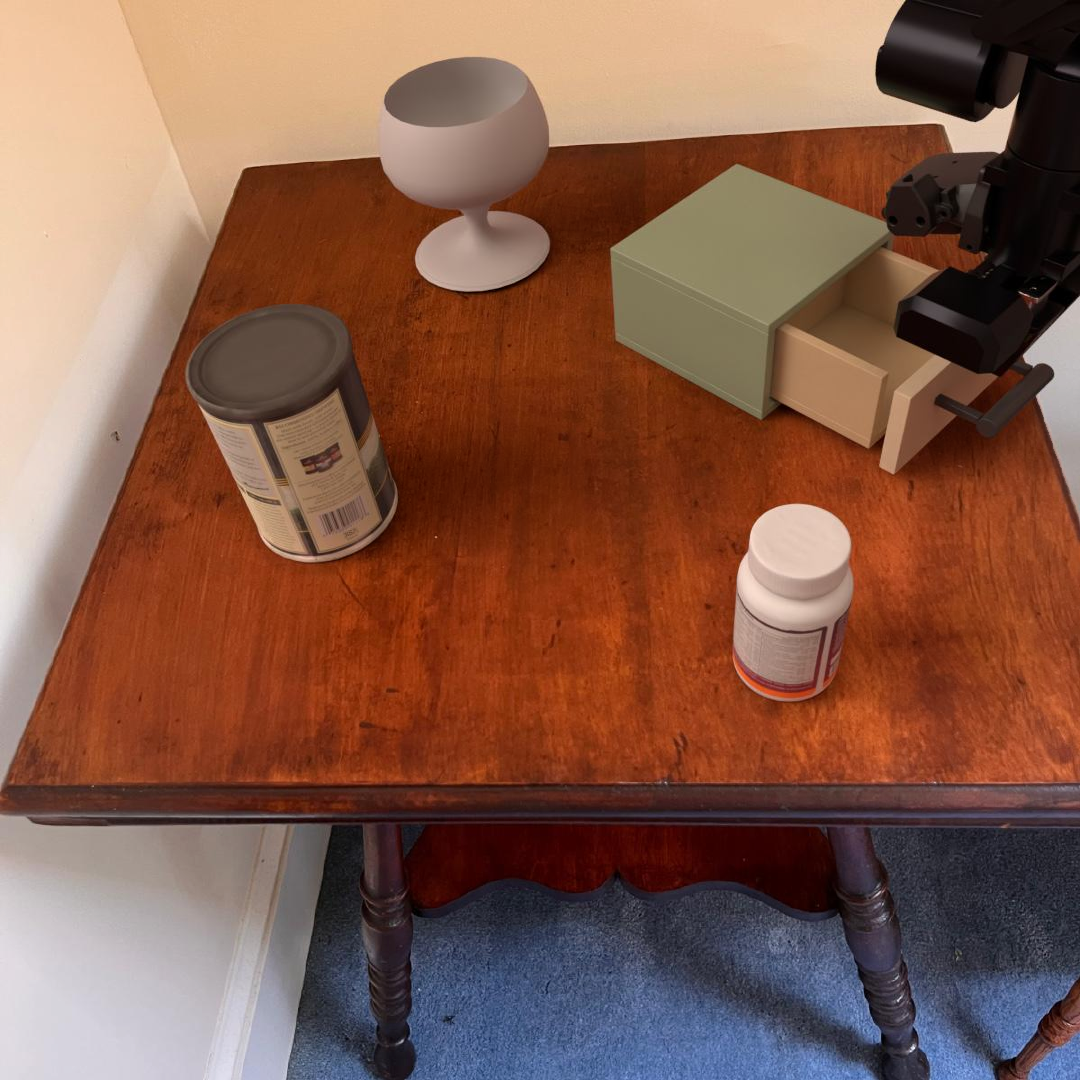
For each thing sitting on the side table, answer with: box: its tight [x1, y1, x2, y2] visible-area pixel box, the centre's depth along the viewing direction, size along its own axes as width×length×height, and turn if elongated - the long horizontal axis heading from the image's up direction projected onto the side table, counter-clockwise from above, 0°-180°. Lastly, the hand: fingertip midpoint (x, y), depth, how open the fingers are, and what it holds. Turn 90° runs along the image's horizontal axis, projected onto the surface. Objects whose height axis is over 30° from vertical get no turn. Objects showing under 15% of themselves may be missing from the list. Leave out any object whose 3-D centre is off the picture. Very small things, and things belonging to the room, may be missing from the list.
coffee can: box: [184, 303, 399, 563], centre depth 69 cm, size 10×10×14 cm
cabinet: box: [609, 163, 895, 421], centre depth 79 cm, size 15×15×9 cm
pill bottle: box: [732, 503, 855, 702], centre depth 57 cm, size 6×6×11 cm
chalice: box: [377, 56, 551, 292], centre depth 87 cm, size 14×14×15 cm
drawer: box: [770, 247, 1055, 475], centre depth 72 cm, size 18×13×7 cm
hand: (996, 371), depth 66 cm, fingers closed
